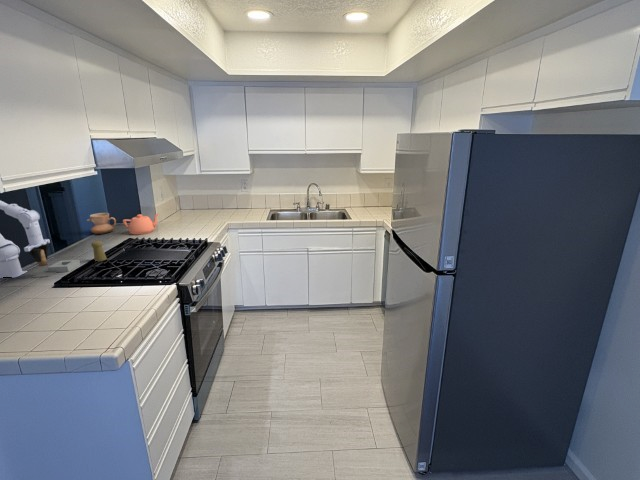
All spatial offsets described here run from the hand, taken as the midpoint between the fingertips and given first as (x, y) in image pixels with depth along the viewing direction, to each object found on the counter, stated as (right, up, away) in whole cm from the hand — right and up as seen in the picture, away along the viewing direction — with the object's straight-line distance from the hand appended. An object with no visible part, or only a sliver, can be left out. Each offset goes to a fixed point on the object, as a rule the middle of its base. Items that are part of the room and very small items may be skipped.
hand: (41, 260), depth 171 cm
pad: (0, -7, +2) cm, 8 cm away
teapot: (+12, +16, +78) cm, 80 cm away
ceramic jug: (-20, +16, +80) cm, 84 cm away
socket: (+5, -5, +9) cm, 12 cm away
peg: (0, -2, +1) cm, 3 cm away
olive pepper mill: (+16, -1, +21) cm, 27 cm away
